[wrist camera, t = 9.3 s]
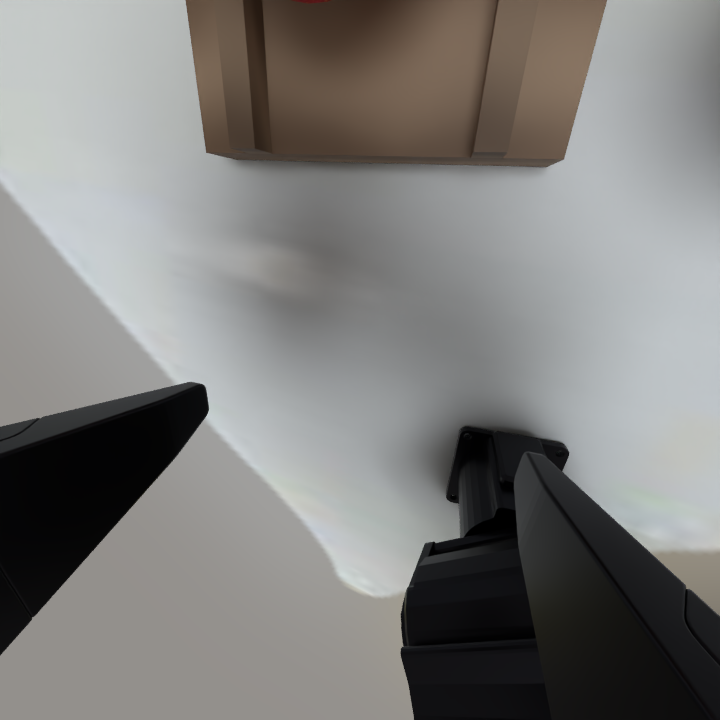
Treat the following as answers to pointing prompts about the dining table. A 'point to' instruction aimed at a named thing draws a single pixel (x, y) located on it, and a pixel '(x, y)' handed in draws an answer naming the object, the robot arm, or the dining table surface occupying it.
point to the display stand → (392, 79)
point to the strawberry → (311, 1)
